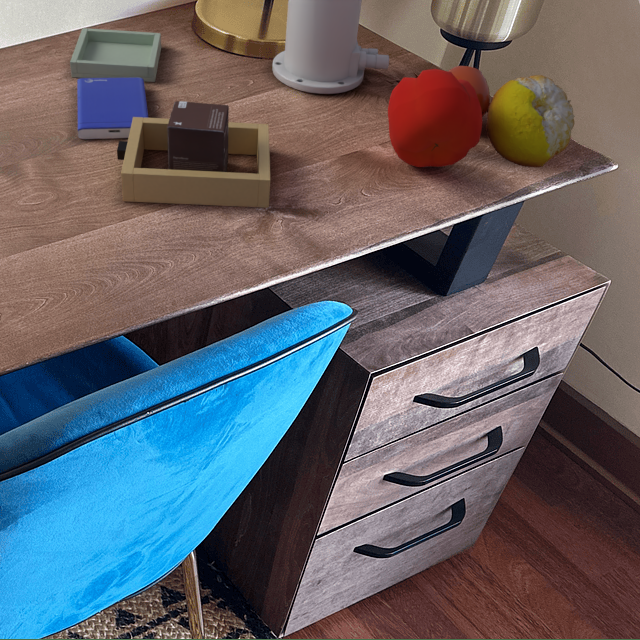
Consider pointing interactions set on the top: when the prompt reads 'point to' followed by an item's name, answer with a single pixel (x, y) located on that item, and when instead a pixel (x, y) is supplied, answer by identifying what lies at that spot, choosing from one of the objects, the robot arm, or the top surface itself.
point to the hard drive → (109, 106)
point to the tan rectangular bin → (194, 183)
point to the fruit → (530, 120)
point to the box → (198, 137)
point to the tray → (116, 54)
